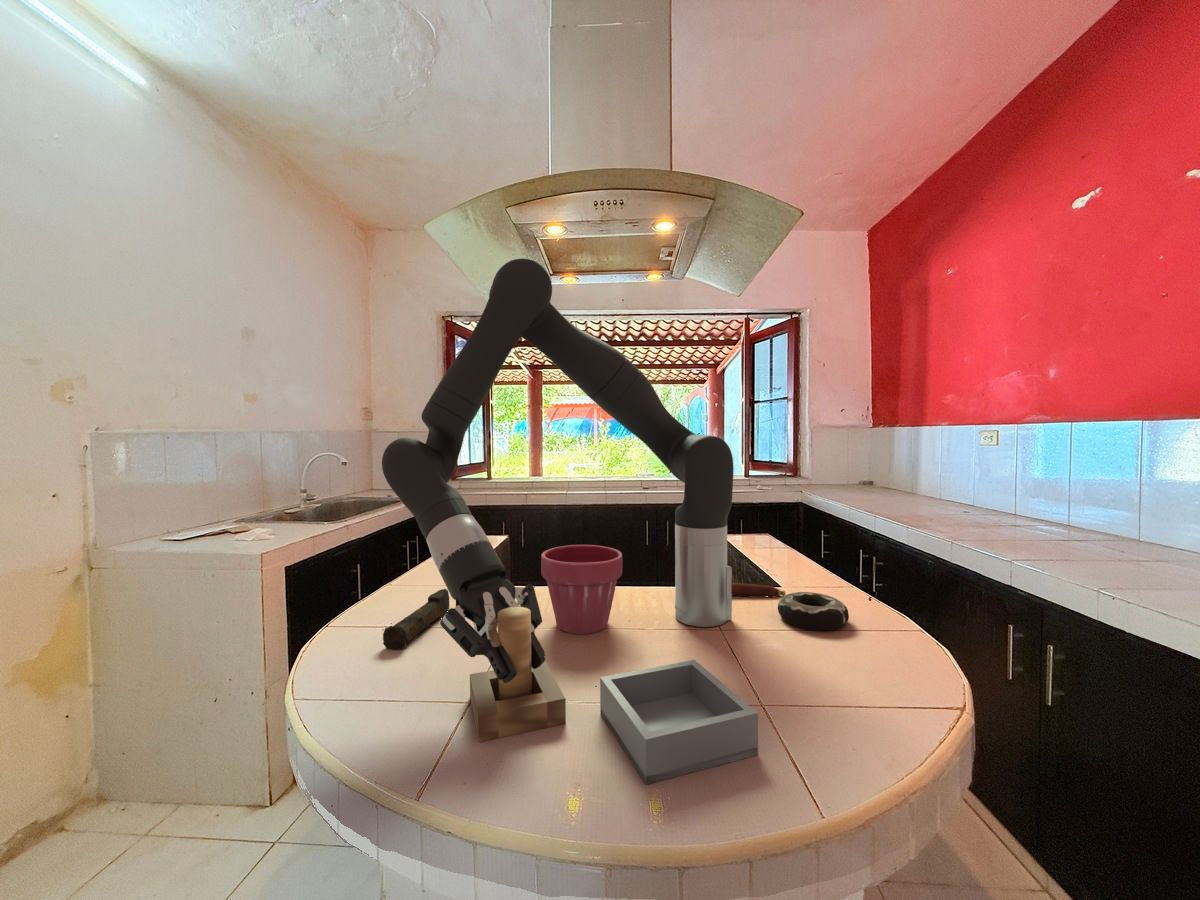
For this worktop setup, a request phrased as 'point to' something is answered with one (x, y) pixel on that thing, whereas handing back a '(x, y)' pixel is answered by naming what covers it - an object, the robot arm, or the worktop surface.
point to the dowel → (516, 650)
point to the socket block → (516, 705)
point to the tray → (677, 720)
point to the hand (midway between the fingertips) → (525, 671)
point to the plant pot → (581, 585)
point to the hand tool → (416, 621)
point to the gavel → (755, 590)
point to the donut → (813, 611)
